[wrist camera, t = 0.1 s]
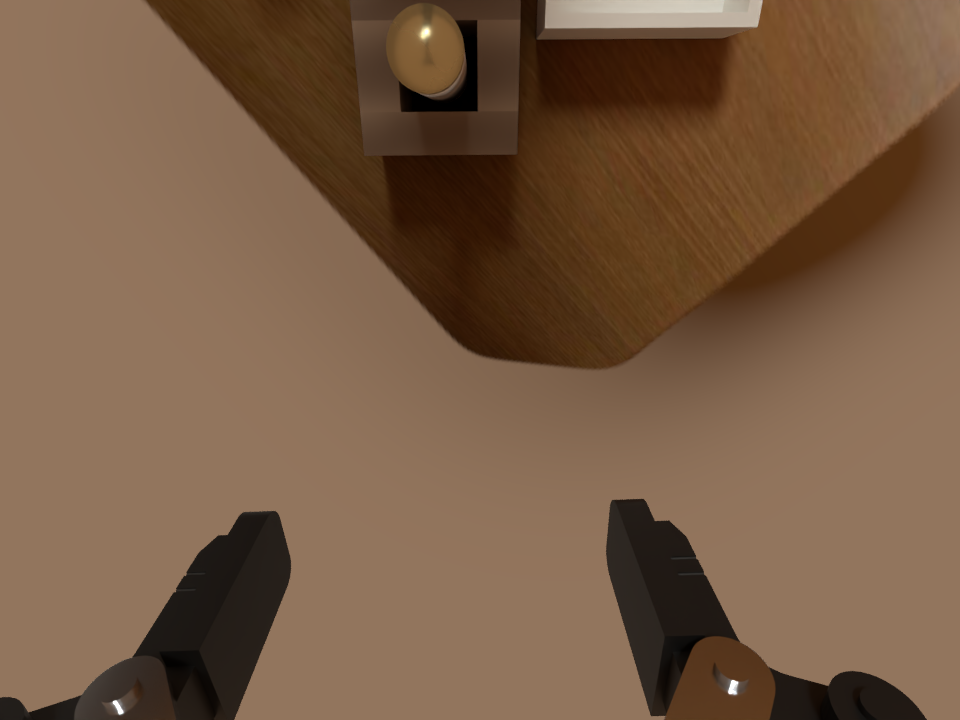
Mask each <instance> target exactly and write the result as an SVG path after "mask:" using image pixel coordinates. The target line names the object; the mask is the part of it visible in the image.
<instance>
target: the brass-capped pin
mask: <svg viewBox="0 0 960 720" xmlns="http://www.w3.org/2000/svg"><path fill="white" fill-rule="evenodd" d="M386 52H387V58H388V62H389V65H390V67H391V69H392V71H393V73H394V75H395V76H396V78H397V79H398V80H399V81H400V82H401V83H402V84H403V85H404V86H406V87H407V88H409V89H411V90H412V91H415V92H417V93H419V94H421V95H423V96H426V97H428V98H430V99H432V100H434V101H437V102H441V103H448V102H452V101H454V100H456V99H457V98H459V97H460V96H461V95H462V93H463V92H464V90H465V88H466V86H467V82H468V70H467V63H466V56H465V49H464V42H463V37H462V34H461V31H460V29H459V27H458V25H457V23H456V22H455V20H454V19H453V18H452V16H451V15H450V14H449V13H447V12H446V11H445V10H444V9H442V8H440V7H438V6H436V5H433V4H428V3H419V4H414V5H411V6H409V7H407V8H405V9H404V10H402V11H401V12H400V13H399V14H398V15H397V16H396V17H395V19H394V20H393V22H392V24H391V26H390V28H389V31H388V35H387V41H386Z"/></svg>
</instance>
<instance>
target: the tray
mask: <svg viewBox="0 0 960 720" xmlns="http://www.w3.org/2000/svg"><path fill="white" fill-rule="evenodd" d="M762 1H763V0H537V29H536V40H541V39H706V38H725V37H729V36H732V35H735V34H738V33H741V32H744V31H747V30H750V29H753V28H756V27H758V22H759V17H760V12H761V6H762Z"/></svg>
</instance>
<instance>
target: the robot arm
mask: <svg viewBox="0 0 960 720" xmlns="http://www.w3.org/2000/svg"><path fill="white" fill-rule="evenodd" d="M607 536H608V537H607V546H606V555H607V565H608V571H609V575H610V579H611V582H612V585H613V589H614V592H615V596H616V599H617V602H618V606H619V609H620V613H621V616H622V619H623V623H624V626H625V630H626V633H627V636H628V640H629V643H630V647H631V650H632V653H633V657H634V660H635V664H636V667H637V670H638V674H639V677H640V680H641V684H642V687H643V691H644V694H645V697H646V701H647V704H648V708H649V711H650V715H651V716H665V719H664V720H927V719H926V718H925V716H924V715H923V714H922V712H921V711H920V710H919V708H918V707H917V706H916V705H915V704H914V703H913V702H912V701H911V700H910V699H909V698H908V697H907V696H906V695H905V694H903V692H901V691H900V690H898V689H897V688H896V687H894V686H893V685H891V684H889V683H888V682H886V681H884V680H882V679H880V678H878V677H876V676H873V675H870V674H866V673H862V672H855V671H848V672H843V673H840V674H838V675H836V676H835V677H834V678H833V679H832V680H831V682H830V684H829V686H826V685H822V684H819V683H815V682H811V681H808V680H804V679H800V678H796V677H793V676H789V675H786V674H783V673H780V672H778V671H776V670H774V669H772V668H770V667H768V666H767V664H766V663H765V662H764V660H762V658H761V657H760V656H759V655H758V654H757V653H756V652H755V651H753V650H752V649H751V648H749V647H748V646H746V645H744V644H742V643H741V642H740V641H739V640H738V638H737V636H736V634H735V632H734V630H733V628H732V626H731V624H730V622H729V620H728V618H727V617H726V615H725V613H724V611H723V609H722V607H721V605H720V603H719V601H718V599H717V597H716V595H715V593H714V591H713V589H712V587H711V585H710V583H709V581H708V579H707V577H706V576H705V575H704V571H703V569H702V567H701V565H700V563H699V561H698V560H697V559H696V555H695V553H694V551H693V549H692V547H691V545H690V543H689V541H688V539H687V537H686V536H685V535H684V534H683V533H682V532H681V531H680V530H678V529H677V528H676V527H675V526H674V525H673V524H672V523H671V522H670V521H654V518H653V516H652V514H651V512H650V509H649V507H648V505H647V503H646V501H645V500H644V499H630V500H629V499H627V500H612V502H611V504H610V513H609V524H608V535H607ZM290 573H291V560H290V555H289V551H288V547H287V543H286V539H285V536H284V532H283V528H282V524H281V520H280V517H279V515H278V513H277V512H276V511H263V512H244V513H242V514H241V515H240V516H239V517H238V519H237V520H236V522H235V524H234V525H233V527H232V529H231V530H230V532H229V534H228V535H220V536H217V537H216V538H215V539H214V540H213V541H212V542H210V543H209V544H208V545H207V546H206V547H205V548H204V549H202V550H201V551H200V552H199V553H198V555H197V556H196V558H195V560H194V561H193V563H192V564H191V566H190V567H189V569H188V571H187V575H186V576H184V577H183V579H182V580H181V582H180V583H179V585H178V587H177V588H176V589H177V590H176V592H174V593H173V594H172V596H171V597H170V599H169V601H168V603H167V604H166V605H165V607H164V609H163V610H162V612H161V613H160V615H159V616H158V618H157V620H156V621H155V623H154V624H153V626H152V628H151V629H150V631H149V632H148V634H147V635H146V637H145V639H144V640H143V642H142V643H141V645H140V647H139V648H138V650H137V651H136V653H135V654H134V656H133V657H132V658H129V659H126V660H124V661H121V662H119V663H117V664H115V665H114V666H112V667H110V668H109V669H107V670H106V671H105V672H103V673H102V674H101V675H100V676H98V677H97V678H96V679H95V680H94V681H93V682H92V683H91V684H90V685H89V686H88V688H87V689H86V690H85V691H84V693H83V694H82V695H81V696H78V697H75V698H72V699H69V700H66V701H63V702H60V703H57V704H54V705H50V706H48V707H44V708H41V709H38V710H35V711H32V712H29V713H28V711H27V710H26V708H25V707H24V705H23V704H22V703H21V702H20V701H19V700H17V699H15V698H11V697H2V698H0V720H234V719H235V716H236V714H237V711H238V709H239V706H240V703H241V701H242V699H243V696H244V694H245V691H246V689H247V686H248V683H249V681H250V679H251V676H252V674H253V671H254V669H255V666H256V663H257V661H258V658H259V656H260V653H261V651H262V649H263V646H264V644H265V641H266V639H267V636H268V634H269V631H270V628H271V626H272V623H273V621H274V618H275V616H276V613H277V611H278V608H279V606H280V603H281V601H282V598H283V596H284V593H285V591H286V588H287V586H288V583H289V579H290Z"/></svg>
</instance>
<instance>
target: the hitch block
mask: <svg viewBox="0 0 960 720" xmlns="http://www.w3.org/2000/svg"><path fill="white" fill-rule="evenodd" d="M419 3H428V4H433V5H436V6H438V7H440V8H442V9H444V10H445V11H446V12H447V13H449V14H450V15H451V16H452V18H453V19H454V20H455V22H456V23H457V25H458V27H459V29H460V31H461V34H462V36H477V111H474V112H412V99H411V89H409V88H407V87H406V86H404V85H403V84H402V83H401V82H400V81H399V80H398V79H397V78H396V76H395V75H394V73H393V71H392V69H391V67H390V65H389V62H388V58H387V52H386V41H387V35H388V31H389V28H390V26H391V24H392V22H393V20H394V19H395V17H396V16H397V15H398V14H399V13H400V12H401V11H402V10H404V9H405V8H407V7H409V6H411V5H414V4H419ZM350 9H351V20H352V30H353V41H354V51H355V62H356V72H357V83H358V93H359V104H360V114H361V125H362V136H363V146H364V156H389V155H517V146H518V103H519V59H520V15H521V0H350Z"/></svg>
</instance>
